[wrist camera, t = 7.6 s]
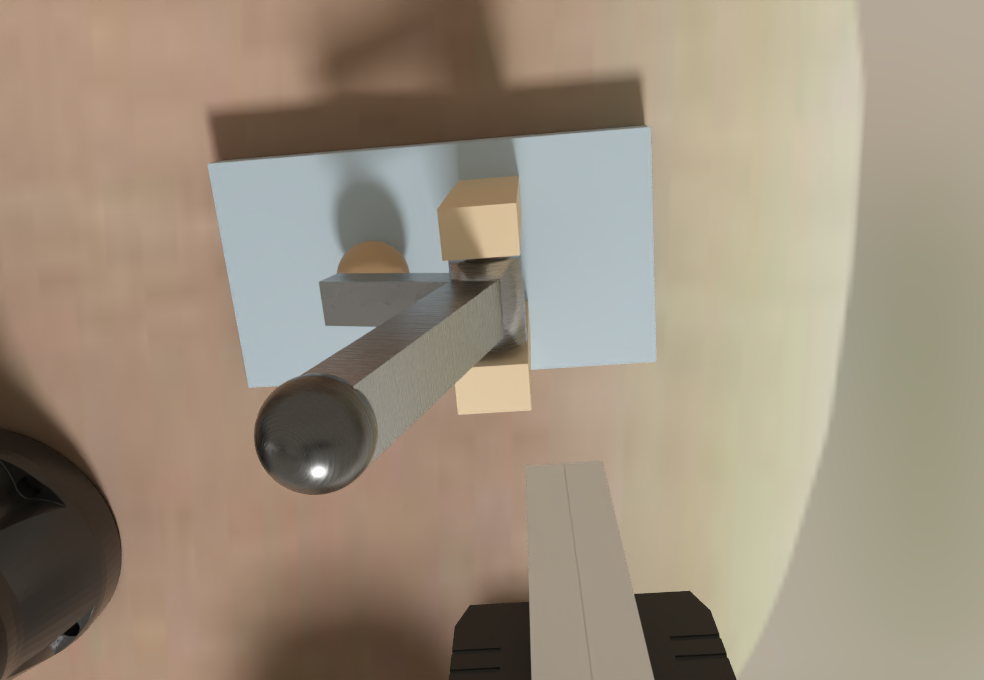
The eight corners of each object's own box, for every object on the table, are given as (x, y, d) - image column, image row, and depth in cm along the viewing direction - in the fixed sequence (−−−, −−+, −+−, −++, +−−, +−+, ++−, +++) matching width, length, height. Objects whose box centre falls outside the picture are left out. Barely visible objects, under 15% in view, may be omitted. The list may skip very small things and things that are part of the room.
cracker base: (260, 375, 46) (170, 471, 34) (221, 160, 42) (107, 187, 31) (650, 349, 44) (693, 441, 33) (644, 125, 41) (690, 139, 29)
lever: (353, 327, 38) (70, 497, 23) (342, 252, 37) (38, 379, 22) (538, 331, 35) (349, 530, 20) (532, 250, 34) (328, 395, 19)
